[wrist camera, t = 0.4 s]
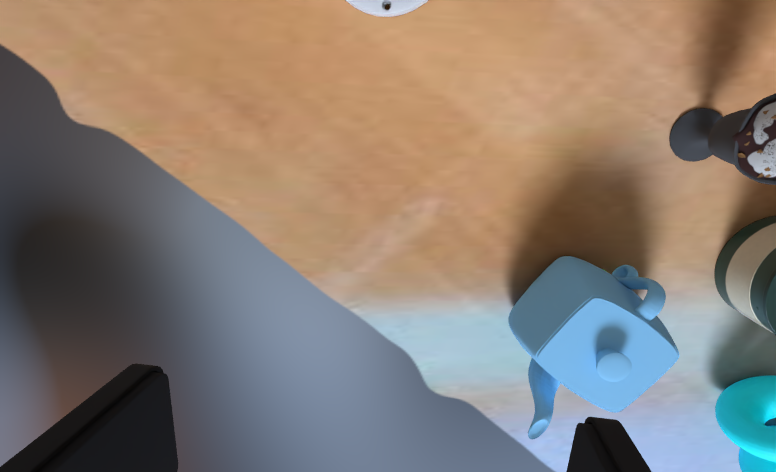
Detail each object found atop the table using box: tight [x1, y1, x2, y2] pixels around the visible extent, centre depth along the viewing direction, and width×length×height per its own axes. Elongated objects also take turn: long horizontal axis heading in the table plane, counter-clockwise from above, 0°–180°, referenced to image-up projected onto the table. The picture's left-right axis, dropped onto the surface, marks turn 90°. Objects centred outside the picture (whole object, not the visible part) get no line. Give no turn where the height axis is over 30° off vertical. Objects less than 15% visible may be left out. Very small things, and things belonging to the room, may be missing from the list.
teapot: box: [509, 256, 679, 439], centre depth 39 cm, size 12×18×12 cm
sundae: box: [670, 94, 776, 185], centre depth 31 cm, size 7×7×15 cm
